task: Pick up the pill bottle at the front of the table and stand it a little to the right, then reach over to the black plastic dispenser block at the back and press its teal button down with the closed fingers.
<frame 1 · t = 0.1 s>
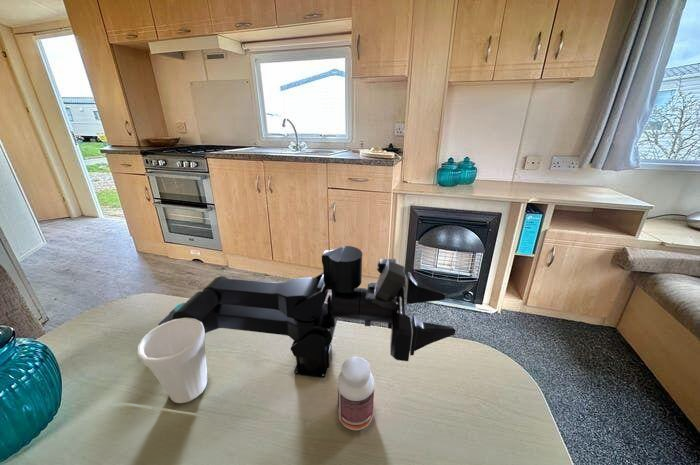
hand: (449, 312, 48), 17 cm above the table, tool horizontal, fingers open, 9 cm apart
cup: (189, 389, 53), on the table
pill bottle: (355, 414, 49), on the table
dispenser button: (183, 310, 67), point 4 cm above the table, slide at 0.1 cm
dispenser: (187, 324, 69), on the table
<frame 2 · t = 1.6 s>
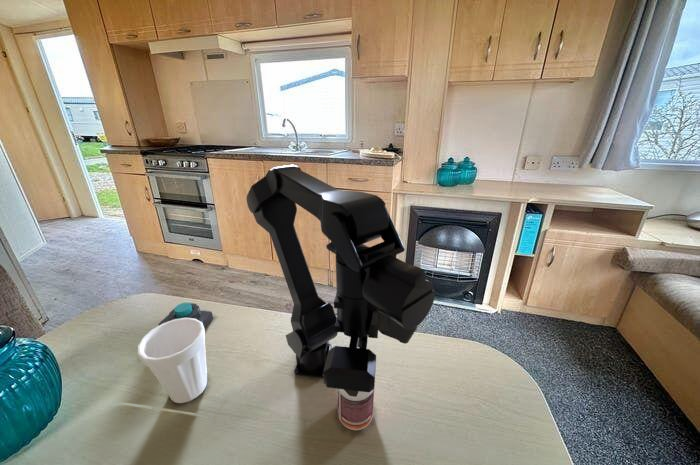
hand: (356, 368, 44), 11 cm above the table, tool pointing down, fingers open, 9 cm apart
nothing on the table moved.
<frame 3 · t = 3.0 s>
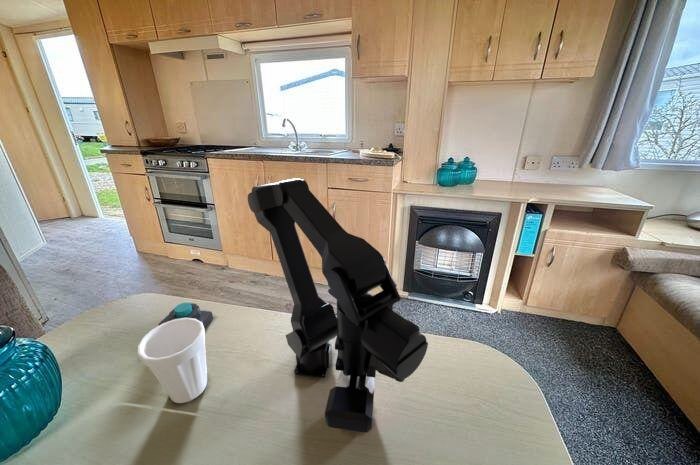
hand: (355, 399, 47), 4 cm above the table, tool pointing down, fingers closed on pill bottle, 6 cm apart
pill bottle: (355, 414, 49), on the table, touching gripper
everything else where it was.
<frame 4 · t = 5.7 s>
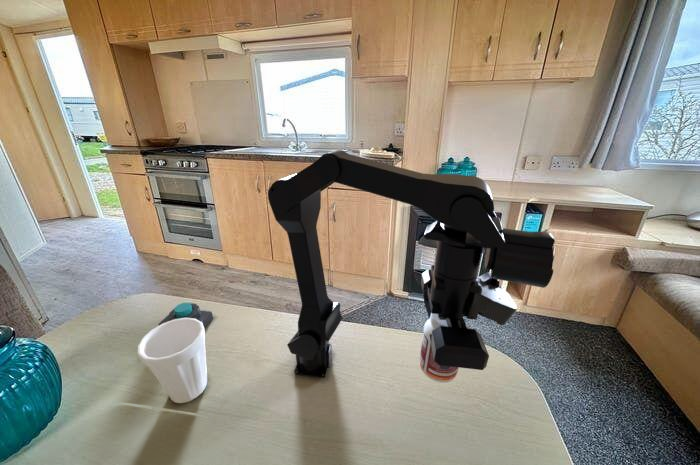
hand: (440, 351, 45), 13 cm above the table, tool pointing down, fingers closed on pill bottle, 6 cm apart
pill bottle: (437, 368, 47), point 9 cm above the table, touching gripper
everything else where it was.
when the fingers open (4 cm above the table, at t = 8.5 s): pill bottle stays where it is, on the table.
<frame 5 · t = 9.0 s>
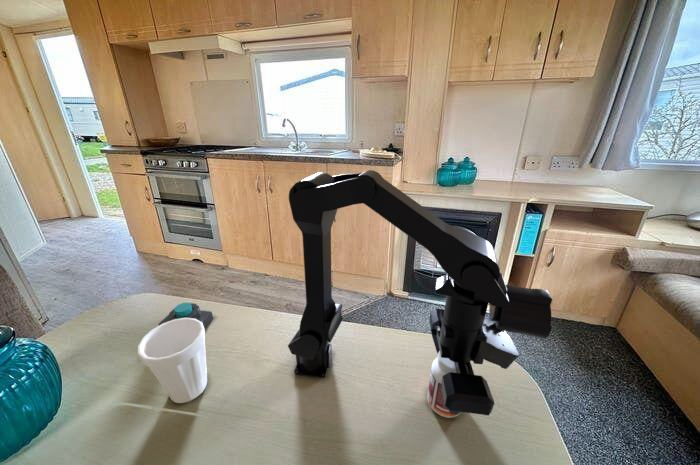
hand: (448, 387, 49), 4 cm above the table, tool pointing down, fingers open, 9 cm apart
pill bottle: (444, 403, 51), on the table
everything else where it was.
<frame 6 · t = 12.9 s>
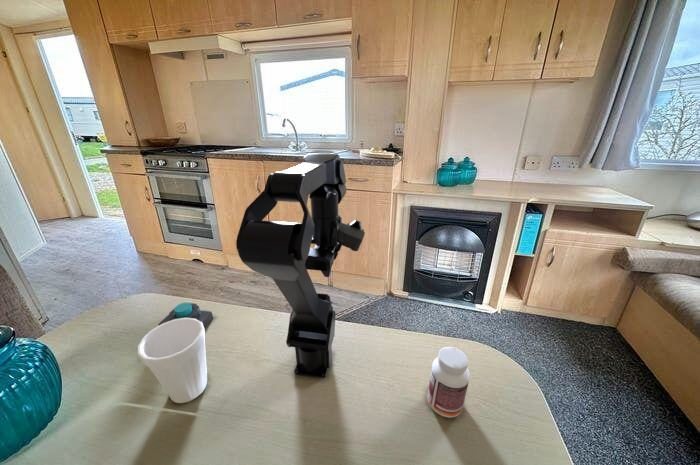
hand: (327, 276, 65), 13 cm above the table, tool pointing down, fingers closed
nothing on the table moved.
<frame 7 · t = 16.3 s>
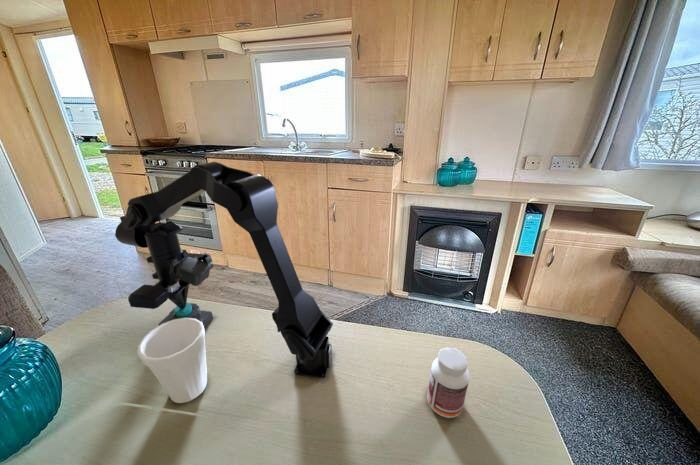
hand: (182, 307, 67), 5 cm above the table, tool pointing down, fingers closed, pressing on dispenser button
dispenser button: (183, 310, 67), point 4 cm above the table, slide at 0.0 cm, touching gripper
everything else where it was.
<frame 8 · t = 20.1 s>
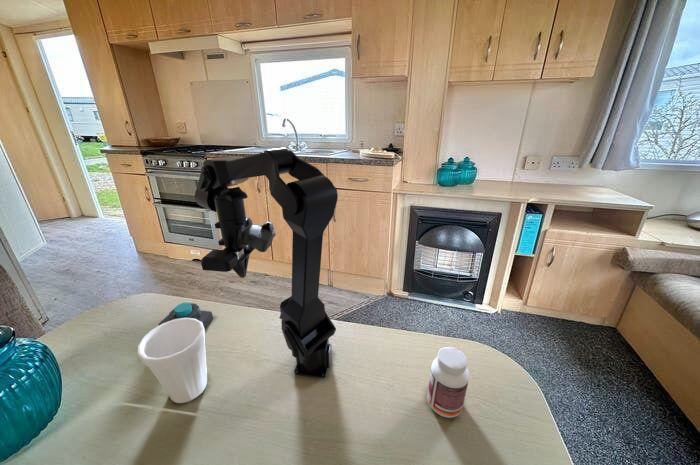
hand: (243, 276, 67), 12 cm above the table, tool pointing down, fingers closed
dispenser button: (183, 310, 67), point 4 cm above the table, slide at 0.1 cm
everything else where it was.
at the end: pill bottle 0.1 cm from the target spot, on the table; dispenser button pushed in 1.1 cm at the most during the clip, back to where it started at the end; dispenser button slide at 0.1 cm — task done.
